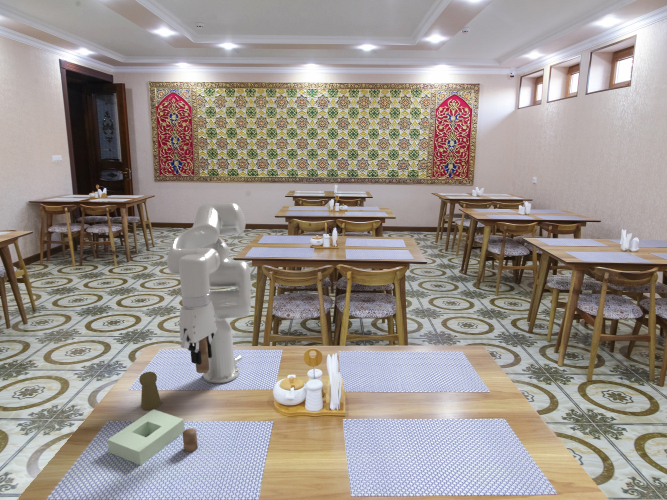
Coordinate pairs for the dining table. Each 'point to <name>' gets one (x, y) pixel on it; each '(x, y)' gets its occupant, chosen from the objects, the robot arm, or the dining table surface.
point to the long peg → (203, 356)
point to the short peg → (190, 440)
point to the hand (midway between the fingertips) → (201, 359)
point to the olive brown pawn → (149, 391)
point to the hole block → (142, 448)
